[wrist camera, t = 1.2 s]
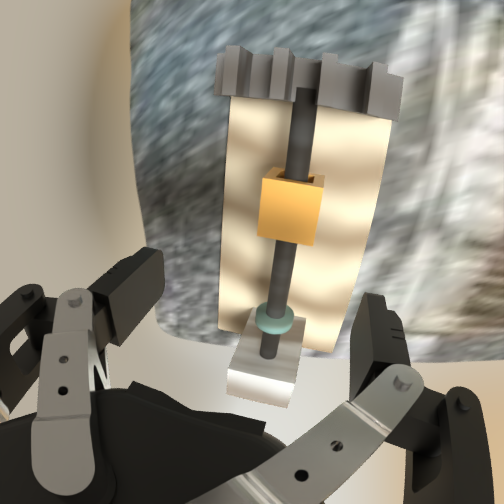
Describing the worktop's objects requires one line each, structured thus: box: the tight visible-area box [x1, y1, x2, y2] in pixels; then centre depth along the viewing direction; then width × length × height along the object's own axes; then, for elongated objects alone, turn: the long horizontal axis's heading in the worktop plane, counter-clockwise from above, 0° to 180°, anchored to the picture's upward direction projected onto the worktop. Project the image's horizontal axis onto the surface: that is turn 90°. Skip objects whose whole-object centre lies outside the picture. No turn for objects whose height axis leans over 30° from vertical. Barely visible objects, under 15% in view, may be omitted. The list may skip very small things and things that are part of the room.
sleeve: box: [257, 167, 325, 247], centre depth 21 cm, size 4×4×4 cm
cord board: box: [214, 46, 404, 408], centre depth 25 cm, size 30×14×12 cm, turn 175°
